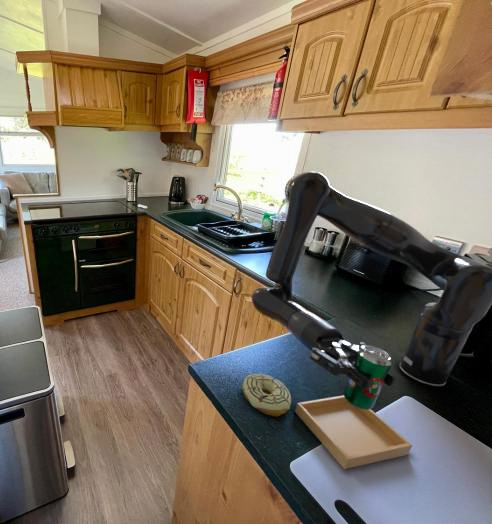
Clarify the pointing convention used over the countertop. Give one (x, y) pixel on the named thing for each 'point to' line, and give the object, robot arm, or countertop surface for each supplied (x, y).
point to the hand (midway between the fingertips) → (381, 383)
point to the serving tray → (351, 432)
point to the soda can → (376, 369)
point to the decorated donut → (267, 394)
